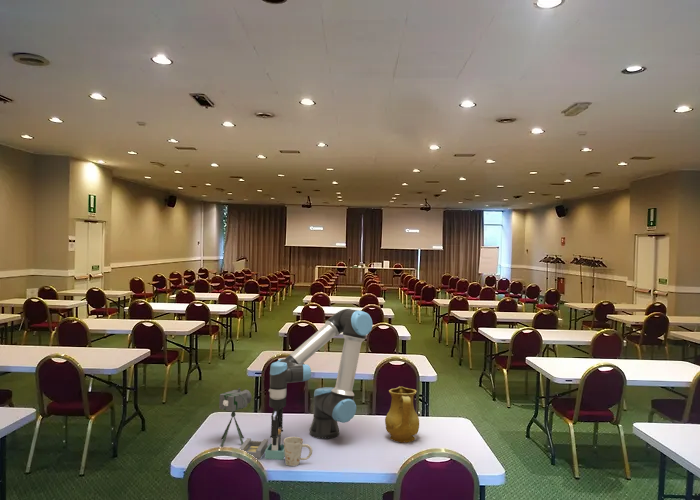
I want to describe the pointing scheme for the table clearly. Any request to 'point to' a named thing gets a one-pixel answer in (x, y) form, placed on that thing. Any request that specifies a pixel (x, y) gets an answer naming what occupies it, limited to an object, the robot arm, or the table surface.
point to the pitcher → (402, 416)
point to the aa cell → (279, 438)
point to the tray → (274, 453)
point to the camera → (234, 407)
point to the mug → (294, 450)
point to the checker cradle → (255, 447)
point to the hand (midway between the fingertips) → (276, 449)
